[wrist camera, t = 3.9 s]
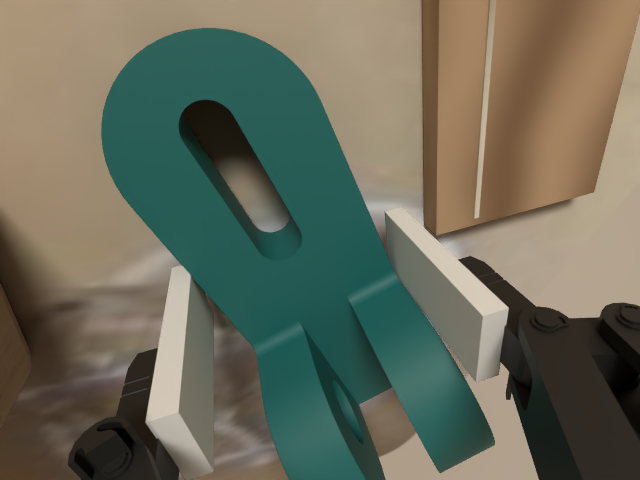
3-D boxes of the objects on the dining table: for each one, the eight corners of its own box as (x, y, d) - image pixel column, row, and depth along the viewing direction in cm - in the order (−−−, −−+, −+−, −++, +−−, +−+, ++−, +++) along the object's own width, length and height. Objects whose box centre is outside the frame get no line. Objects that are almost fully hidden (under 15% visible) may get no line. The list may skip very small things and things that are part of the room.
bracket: (414, 334, 21) (506, 474, 15) (311, 389, 21) (355, 552, 15) (259, -14, 11) (321, -69, 5) (70, 91, 12) (-124, 178, 5)
